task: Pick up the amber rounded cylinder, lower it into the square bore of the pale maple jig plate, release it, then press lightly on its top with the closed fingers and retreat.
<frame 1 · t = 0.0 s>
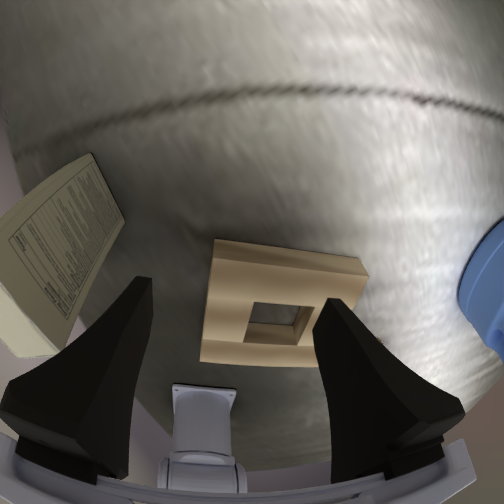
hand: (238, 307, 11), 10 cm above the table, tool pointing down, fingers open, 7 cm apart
skincare box: (89, 198, 19), on the table
jig: (274, 305, 25), on the table
water jug: (497, 264, 26), on the table
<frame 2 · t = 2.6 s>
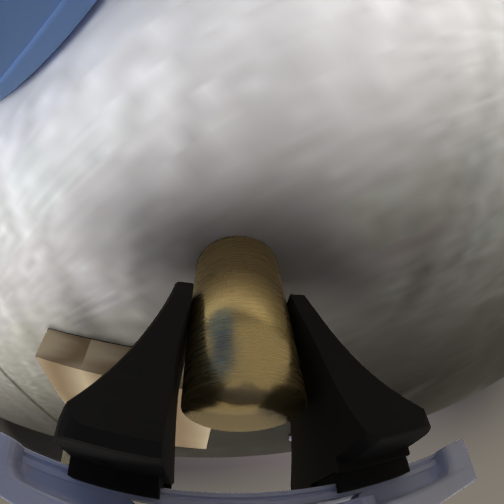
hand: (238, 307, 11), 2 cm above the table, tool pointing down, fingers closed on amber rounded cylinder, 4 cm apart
jig: (136, 390, 19), on the table
amber rounded cylinder: (237, 271, 14), on the table, touching gripper
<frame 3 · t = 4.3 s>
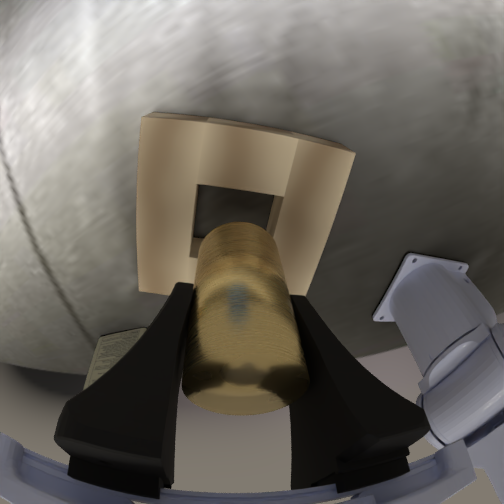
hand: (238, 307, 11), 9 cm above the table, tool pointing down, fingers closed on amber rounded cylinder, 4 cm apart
skincare box: (133, 342, 27), on the table
jig: (233, 210, 19), on the table
amber rounded cylinder: (238, 257, 14), point 6 cm above the table, touching gripper
when the fingers open (4 cm above the table, at t = 6.1 s): amber rounded cylinder stays where it is, resting in jig.
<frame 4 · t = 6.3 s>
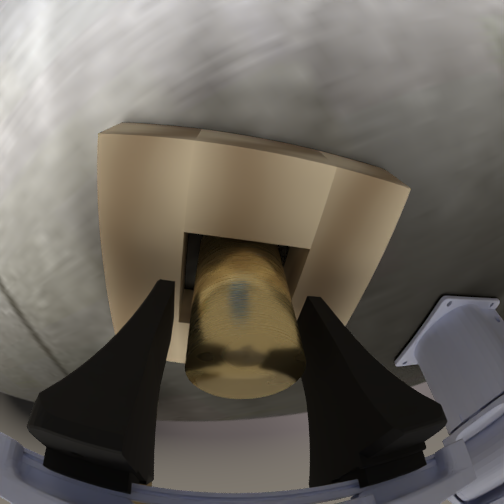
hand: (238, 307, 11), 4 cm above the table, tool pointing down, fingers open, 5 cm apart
jig: (236, 257, 14), on the table
amber rounded cylinder: (238, 249, 14), resting in jig
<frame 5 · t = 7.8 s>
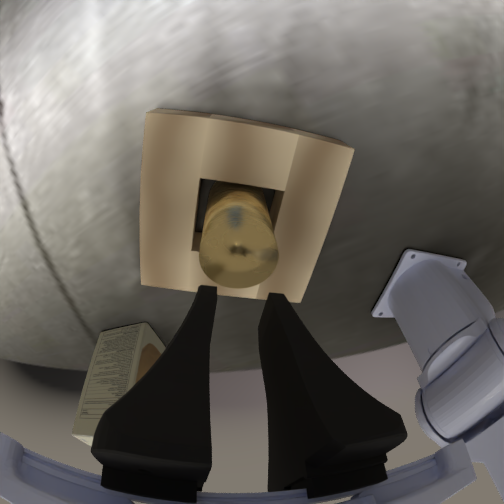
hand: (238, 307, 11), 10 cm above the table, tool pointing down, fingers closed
skincare box: (134, 337, 27), on the table
jig: (234, 205, 20), on the table
amber rounded cylinder: (236, 199, 20), resting in jig
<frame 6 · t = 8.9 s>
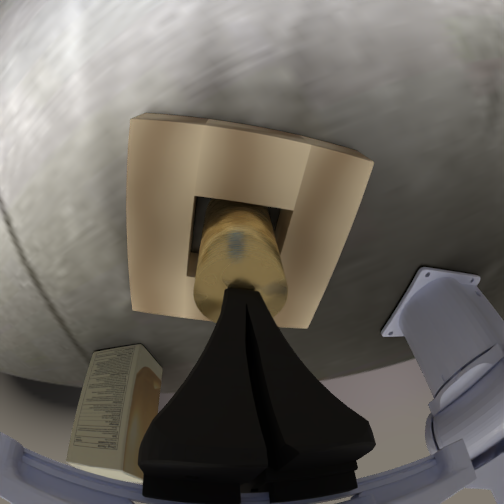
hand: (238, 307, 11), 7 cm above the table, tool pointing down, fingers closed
skincare box: (129, 358, 25), on the table
jig: (235, 223, 17), on the table
amber rounded cylinder: (237, 217, 17), resting in jig
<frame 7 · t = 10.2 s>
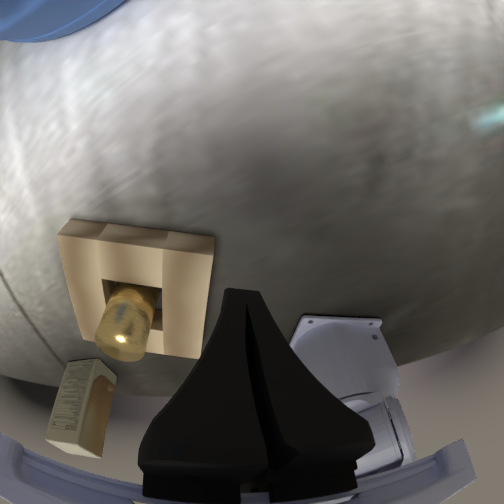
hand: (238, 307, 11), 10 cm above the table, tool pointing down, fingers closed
skincare box: (93, 367, 31), on the table
jig: (139, 287, 24), on the table
amber rounded cylinder: (139, 283, 24), resting in jig
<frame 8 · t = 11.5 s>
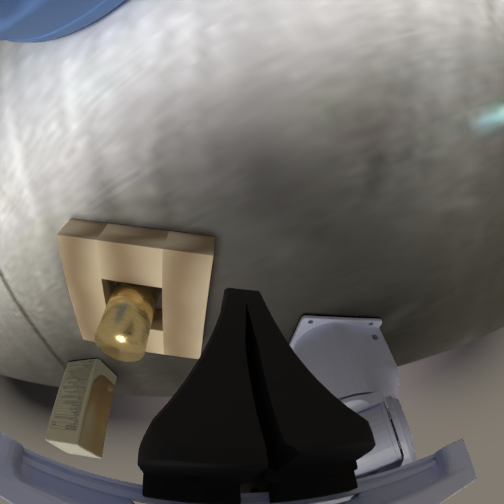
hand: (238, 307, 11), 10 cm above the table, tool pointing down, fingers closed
skincare box: (93, 367, 31), on the table
jig: (139, 287, 24), on the table
amber rounded cylinder: (139, 283, 24), resting in jig
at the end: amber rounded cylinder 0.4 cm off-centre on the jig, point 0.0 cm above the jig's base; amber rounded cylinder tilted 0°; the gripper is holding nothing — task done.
